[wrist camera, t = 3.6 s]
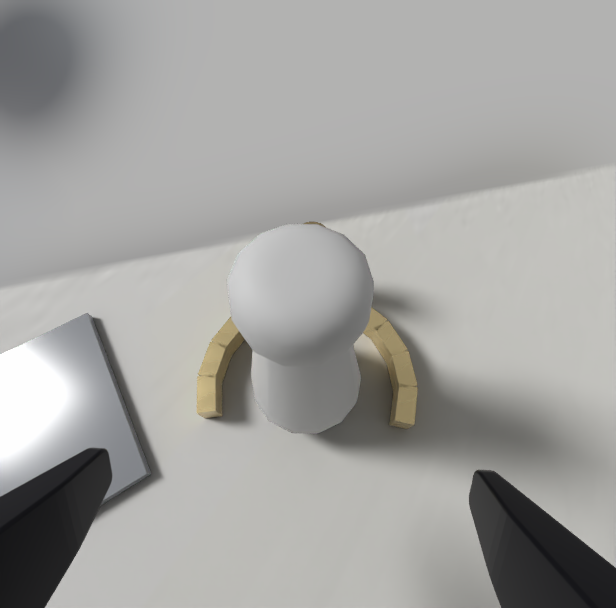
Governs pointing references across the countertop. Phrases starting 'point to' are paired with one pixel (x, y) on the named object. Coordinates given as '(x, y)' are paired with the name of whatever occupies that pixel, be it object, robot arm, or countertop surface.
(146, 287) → the countertop surface
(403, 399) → the gold curved piece
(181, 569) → the countertop surface
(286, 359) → the salt shaker
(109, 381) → the coaster
